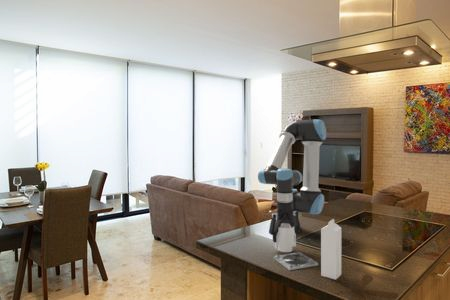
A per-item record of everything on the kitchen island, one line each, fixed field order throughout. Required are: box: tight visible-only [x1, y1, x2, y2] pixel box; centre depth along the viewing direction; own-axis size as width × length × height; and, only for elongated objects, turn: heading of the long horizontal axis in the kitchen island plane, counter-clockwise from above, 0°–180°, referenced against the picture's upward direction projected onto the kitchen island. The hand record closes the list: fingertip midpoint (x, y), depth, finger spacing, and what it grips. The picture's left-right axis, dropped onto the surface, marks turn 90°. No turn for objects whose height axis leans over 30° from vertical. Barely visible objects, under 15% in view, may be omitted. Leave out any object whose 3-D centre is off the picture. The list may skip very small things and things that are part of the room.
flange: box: [273, 251, 319, 271], centre depth 142 cm, size 14×14×2 cm
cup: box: [277, 223, 295, 253], centre depth 156 cm, size 9×9×12 cm
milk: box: [320, 218, 342, 281], centre depth 127 cm, size 6×6×22 cm
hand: (285, 247), depth 156 cm, fingers closed on cup, 9 cm apart
